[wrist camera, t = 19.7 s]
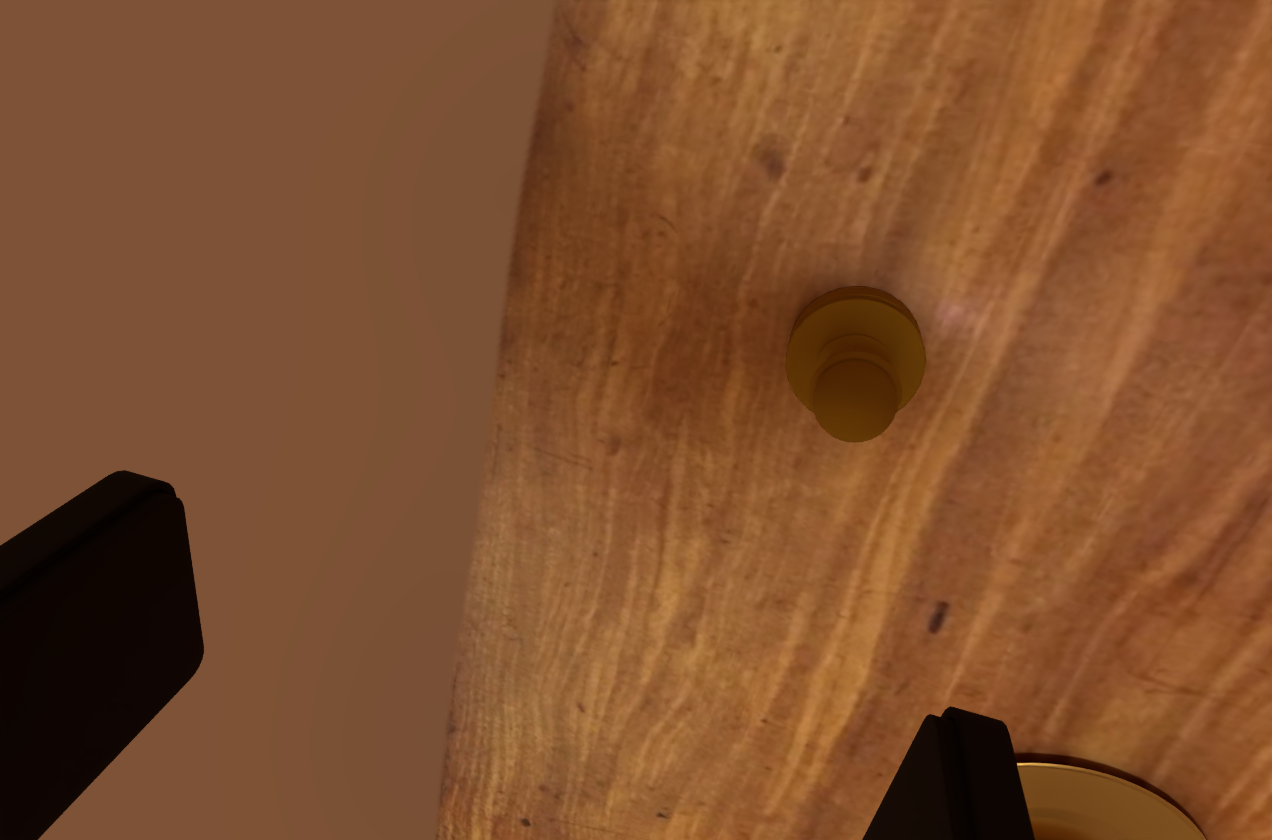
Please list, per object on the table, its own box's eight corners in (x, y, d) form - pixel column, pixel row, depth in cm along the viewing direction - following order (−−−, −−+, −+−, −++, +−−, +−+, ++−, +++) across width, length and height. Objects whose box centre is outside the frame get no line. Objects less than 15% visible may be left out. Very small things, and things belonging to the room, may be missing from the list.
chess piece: (922, 280, 23) (939, 341, 18) (921, 405, 24) (936, 487, 20) (784, 290, 24) (770, 349, 20) (792, 408, 26) (780, 487, 21)
